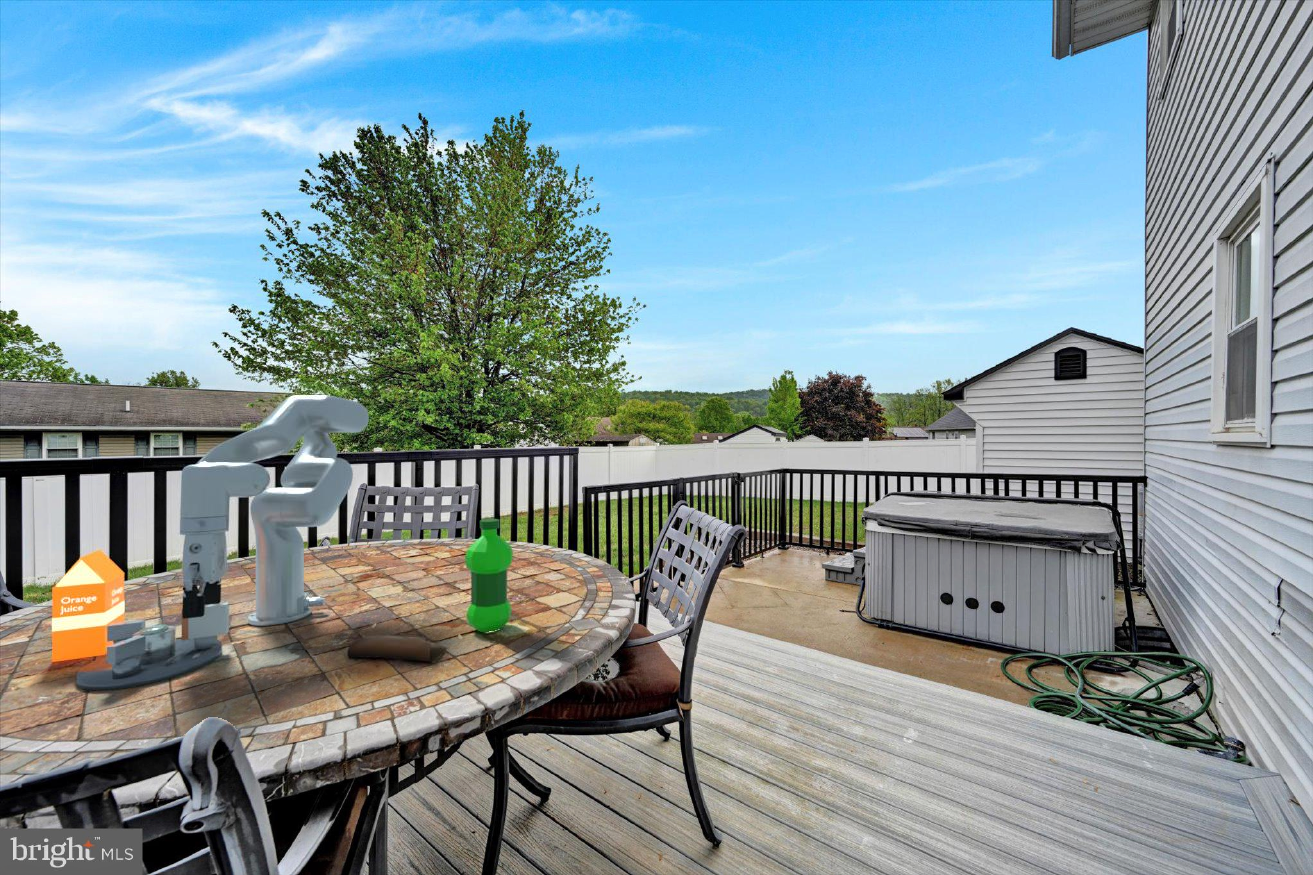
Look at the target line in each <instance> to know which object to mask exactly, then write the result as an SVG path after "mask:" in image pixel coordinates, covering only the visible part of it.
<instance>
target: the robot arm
mask: <svg viewBox="0 0 1313 875" xmlns="http://www.w3.org/2000/svg"><path fill="white" fill-rule="evenodd" d="M369 419H370V415H369V412H368V410H367V408H366V407H365V406H364V405H363V404H361V403H360V402H358V401H354V400H349V399H346V398H342V397H340V396H339V397H338V396H333V395H328V394H327V395H325V394H323V395H321V394H320V395H317V394H312V395H310V394H306V395H305V394H301V395H299V394H298V395H297V394H296V395H292V396H289V397H286V399H284V400H283V401H282V402H280V403H279V405H278V406H277V407H275V409H274V410H273V411H272V412H271V413H270V414H269V415H268V416H267V417H266V418H265V419H264V420H262V422H261V423H260V424H259V425H258V426H257V427H255V428H253V429H250V430H248V431H245V432H243V433H241V434H239V435H237V436H234V437H232V438H229V439H227V440H225V441H223V442H221V443H220V444H218V445H216V446H214V447H213V448H211V449H210V450H209V451H208V452H206V454H205V455H203V457H201V459H199V460H198V461H197V462H196V463H195V464H189V465H187V466H184V467H183V469H182V471H181V476H180V478H181V480H180V482H181V483H180V484H181V485H180V508H179V509H180V510H179V511H180V514H179V515H180V516H179V535H182V536H184V540H183V545H182V546H183V547H182V548H183V550H182V559H181V583H182V585H183V587H182V591H183V592H182V608H181V619H182V618H184V619H186V618H196V617H202V616H204V613H205V605H210V604H219V603H222V602H221V600H222V584H221V583H222V578H224V577H225V575H227V572H228V555H227V553H228V549H227V536H226V535H227V534H226V532H229V529H230V528H229V527H230V498H250V497H251V498H252V497H253V498H252V500H251V501H250V516H251V520H252V524H253V528H254V535H255V537H254V538H255V611H254V612H253V613H251V614H249V615H248V617H247V624H249V625H251V626H258V627H259V626H261V627H262V626H265V627H266V626H273V625H281V624H287V623H291V622H294V621H298V620H301V619H303V618H306V617H308V616H309V615H310V614H311V613H312V607H317V608H318V607H324V606H325V602H326V601H325V597H321V596H316V597H310V596H309V597H308V594H307V592H304V591H305V590H304V589H305V586H304V585H305V582H304V581H305V579H304V578H305V575H304V574H305V570H304V569H305V562H304V560H305V555H304V554H305V544H304V539H303V537H302V535H301V533H300V531H299V530H298V528H302V527H303V528H306V527H307V528H314V527H315V528H316V527H322V526H324V525H326V524H327V523H328V522H330V521H331V519H332V518H333V517H334V515H335V513H337V512H336V511H337V510H338V508H339V507H340V505H341V503H342V502H343V500H344V499H345V497H346V495H347V494H348V492H349V490H350V488H351V486H352V484H353V475H354V473H353V468H352V466H351V464H350V463H349V462H348V461H347V460H346V459H343V458H341V457H337V456H338V450H337V447H336V444H335V443H334V442H333V441H332V439H331V437H330V435H329V433H330V434H331V433H332V434H334V433H335V434H337V433H338V434H343V433H345V434H346V433H347V434H349V433H350V434H354V433H360V432H363V431H364V430H365V429H366V428H367V426H368V423H369ZM302 438H303V442H302V444H301V447H300V448H299V450H298V451H297V453H296V454H295V455H294V456H293V458H292V459H291V460H290V462H289V463H288V464H287V466H286V467H285V469H284V470H283V472H282V473H281V477H280V484H281V486H282V487H271V488H268V487H269V486H270V482H271V477H270V473H269V471H268V470H267V468H266V467H264V466H263V465H260V464H258V463H255V462H259V461H261V460H262V461H263V460H266V459H267V460H268V459H271V458H275V457H278V456H282V455H283V454H284V455H285V454H286V453H288V452H290V451H291V450H292V449H293V448H294V447H295V446H296V445H297V443H298V442H299V441H300V440H301V439H302Z"/></svg>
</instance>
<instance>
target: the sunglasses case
mask: <svg viewBox="0 0 1313 875" xmlns="http://www.w3.org/2000/svg"><path fill="white" fill-rule="evenodd" d="M448 648H449V647H448V646H446V645H444V644H440V643H437V642H431V641H427V640H424V638H421V637H419V636H411V637H410V636H408V635H402V636H401V635H389V634H386V635H385V634H383V635H382V634H379V635H371V636H365V637H360V638H357V639H355V640H353V641H352V642H351V644H350V645H349V646H348V649H347V653H346V655H347V658H348V659H352V658H385V659H399V660H405V661H406V660H408V661H409V660H410V661H411V660H412V661H421V662H422V661H423V662H429V663H430V664H433V663H434V662H435V661H437V658H438V659H439V658H440V657H441V656H442V655H444V654H445V653H446V652H447V651H448V650H449V649H448ZM447 649H448V650H447ZM446 650H447V651H446ZM445 651H446V652H445ZM444 652H445V653H444ZM443 653H444V654H443ZM441 654H442V655H441ZM440 655H441V656H440ZM439 656H440V657H439ZM433 661H434V662H433ZM432 662H433V663H432Z"/></svg>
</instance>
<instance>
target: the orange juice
mask: <svg viewBox="0 0 1313 875" xmlns="http://www.w3.org/2000/svg"><path fill="white" fill-rule="evenodd" d="M51 588H52V589H51V590H52V595H51V596H52V597H51V598H52V602H51V603H52V604H51V605H52V611H51V612H52V616H51V633H52V644H51V645H52V648H51V649H52V650H51V653H52V655H51V656H52V657H51V661H52V663H55V662H63V661H69V660H76V659H84V658H92V657H98V656H106V655H107V646H110V645H113V641H109V642H107V626H108V625H110V624H112V623H121V622H125V605H126V604H125V572H124V571H123V570H122V569H121V568H120V567H119V566H118V565H117V564H116V563H115V562H114V561H113V560H112V559H110V557H109V556H108V555H107V554H105V553H104V551H103V550H101V549H99V550H98V549H97V550H96V551H93V552H90V553H87V554H85V555H83V556H81V557H80V556H79V559H78V560H76V562H75V563H74V564H73V565H72V566H71V568H70V569H69V570H67V572H66V573H65V575H63V576H62V578H61V579H60V580H59V581H58V582H57V583H56V584H55V585H54V587H51Z"/></svg>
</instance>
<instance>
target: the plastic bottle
mask: <svg viewBox="0 0 1313 875" xmlns="http://www.w3.org/2000/svg"><path fill="white" fill-rule="evenodd" d="M499 528H500V519H498V518H487V519H486V518H485V519H481V520H479V529H480V530H481V531H482V532H481V534H482V535H481V536H480V537H479V538H477V539H476V541H474V543H473V544H471V546H469V547H468V549H467V550H466V553H465V556H464V560H465V566H466V568H467V569H468V570H469V571H470V574H471V577H470V579H471V581H470V582H471V584H470V587H471V588H470V591H471V592H470V594H471V595H470V596H471V598H470V602H471V603H470V605H469V607H468V610H467V611H466V619H467V622H468V624H469V625H470V626H471V627H472V628H473V629H475V630H476V631H477V630H478V631H481V632H489V631H495V630H498V629H500V628H501V629H502V628H503V627H504V626H506V624H508V623H509V622H508V621H509V619H510V617H511V613H512V605H511V602H510V601H509V599H508V568H509V567H510V566H511V564H512V562H513V557H514V551H513V548H512V545H511V544H509V543H508V542H507V541H506V540H505V539H504V538H502V537H500V536H499V535H498V534H497V533H498V532H497V531H498V529H499ZM501 629H500V630H501ZM478 631H477V632H478Z"/></svg>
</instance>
